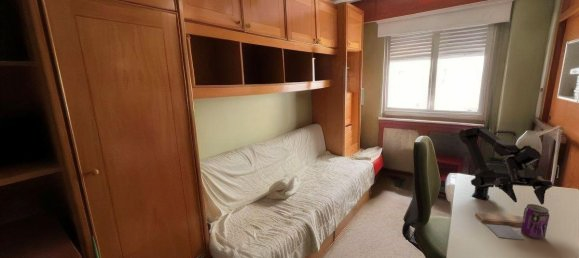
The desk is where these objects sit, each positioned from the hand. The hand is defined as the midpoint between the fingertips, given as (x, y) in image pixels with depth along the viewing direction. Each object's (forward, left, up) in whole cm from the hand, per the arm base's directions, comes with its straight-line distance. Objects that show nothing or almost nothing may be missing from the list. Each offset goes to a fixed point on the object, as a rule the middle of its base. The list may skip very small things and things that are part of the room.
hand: (529, 203), depth 103 cm
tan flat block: (0, -7, -11) cm, 13 cm away
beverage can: (+4, +3, -12) cm, 13 cm away
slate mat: (+10, -5, -11) cm, 16 cm away
